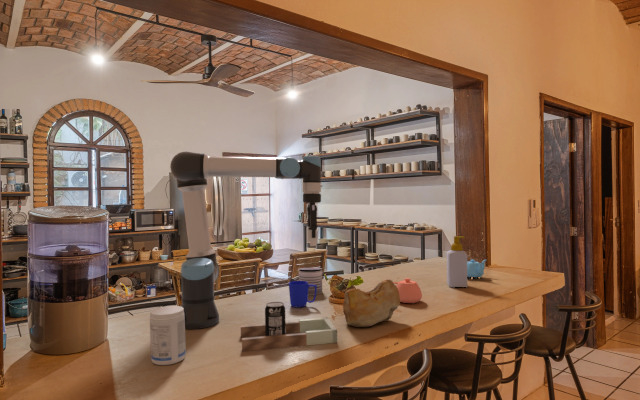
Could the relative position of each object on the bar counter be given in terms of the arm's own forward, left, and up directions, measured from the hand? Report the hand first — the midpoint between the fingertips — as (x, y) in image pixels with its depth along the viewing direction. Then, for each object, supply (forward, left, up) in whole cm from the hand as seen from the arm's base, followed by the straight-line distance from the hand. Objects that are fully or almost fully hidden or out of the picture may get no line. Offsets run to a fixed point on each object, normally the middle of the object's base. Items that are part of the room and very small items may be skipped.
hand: (312, 244), depth 177 cm
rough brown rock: (+16, -22, -27) cm, 39 cm away
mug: (-4, +4, -27) cm, 27 cm away
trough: (-21, -35, -27) cm, 49 cm away
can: (+4, +28, -27) cm, 39 cm away
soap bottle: (+78, +21, -27) cm, 85 cm away
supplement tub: (-52, -44, -27) cm, 73 cm away
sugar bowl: (+41, 0, -27) cm, 49 cm away
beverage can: (-20, -35, -27) cm, 49 cm away
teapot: (+97, +37, -27) cm, 108 cm away
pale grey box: (-6, -35, -27) cm, 45 cm away
